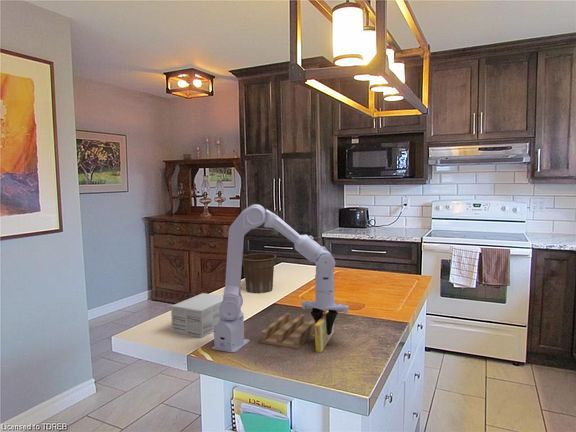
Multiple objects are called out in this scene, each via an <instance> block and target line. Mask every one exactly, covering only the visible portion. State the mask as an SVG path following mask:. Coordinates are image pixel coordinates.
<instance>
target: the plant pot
mask: <svg viewBox="0 0 576 432" xmlns="http://www.w3.org/2000/svg"><path fill="white" fill-rule="evenodd" d="M276 258H277V255H276V254H273V253H249V254H243V256H242V267H243V272H244V281H245V290H246V292H248V293H249V294H262V293H263V294H266V293H270V292H271V291H273V290H274V289H273V286H274V285H273V284H274V274H275V273H274V271H275V266H276Z"/></svg>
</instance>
